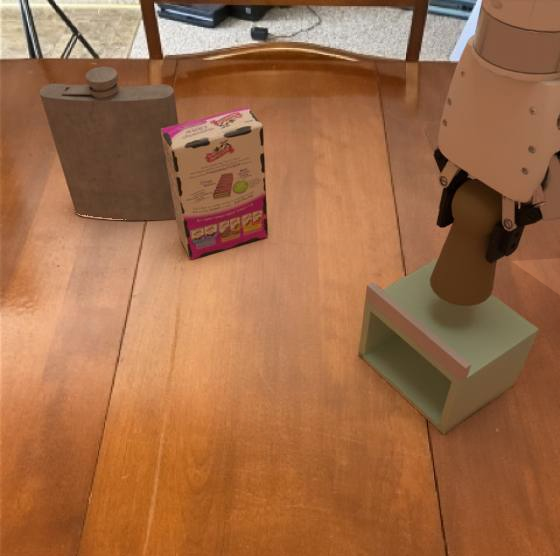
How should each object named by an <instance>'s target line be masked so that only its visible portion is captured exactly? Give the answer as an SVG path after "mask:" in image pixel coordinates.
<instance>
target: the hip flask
mask: <svg viewBox="0 0 560 556" xmlns="http://www.w3.org/2000/svg"><path fill="white" fill-rule="evenodd" d="M85 81H86V84H65V83H50V84H47V85H44V86H43V87H41V88H40V90H39V95H40V99H41V102H42V106H43V109H44V112H45V115H46V120H47V122H48V125H49V129H50V132H51V135H52V139H53V142H54V146H55V149H56V152H57V155H58V159H59V162H60V165H61V169H62V173H63V175H64V179H65V181H66V182H65V183H66V185H67V189H68V192H69V196H70V199H71V202H72V206H73V209H74V212H75V211H76V212H75V214H76V213H78V214H80V215H86V216H87V215H88V216H93V217H102V218H112V219H123V220H125V219H126V220H146V221H145V222H150V221H149V220H153V221H152V222H155V221H154V220H158V221H170V220H176V215H175V210H174V204H173V198H172V193H171V187H170V181H169V175H168V169H167V164H166V158H165V152H164V147H163V142H162V136H161V129H162V128H166V127H170V126H174V125H178V124H179V118H178V112H177V104H176V96H175V89H174V88H173V86H171V85H169V84H165V83H164V84H162V83H160V84H150V85H138V86H137V85H136V86H118V82H119V76H118V71H117V70H116V69H115V68H113V67H110V66H99V67H94V68H91V69H90V70H88V71H87V72H86V73H85ZM168 219H169V220H168ZM147 220H148V221H147Z"/></svg>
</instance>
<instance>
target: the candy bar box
mask: <svg viewBox="0 0 560 556" xmlns="http://www.w3.org/2000/svg"><path fill="white" fill-rule="evenodd" d="M161 136H162V142H163V147H164V152H165V158H166V164H167V169H168V175H169V181H170V187H171V193H172V198H173V204H174V210H175V215H176V219H175V220H176V221H175V222H176V225H177V232H178V237H179V240H180V242H181V244H182V246H183V248H184V249H185V251H186V254H187V255H188V257H189V259H190V260H196V259H199V258H202V257H206V256H209V255H212V254H215V253H219V252H222V251H225V250H228V249H232V248H235V247H238V246H242V245H244V244H248V243H251V242H254V241H257V240H260V239H264V238H268V237H269V228H268V226H269V225H268V202H267V186H266V185H267V184H266V161H265V144H264V143H265V140H264V125H263V124H262V122H261V121H260V120H259V119H258V118H257V117H256V116H255V114H254V113H253V112H252V109H250V107H249V106H244V107H239V108H238V109H237V108H236V109H232V110H228V111H225V112H221V113H218V114H212V115H208V116H205V117H201V118H197V119H194V120H190V121H186V122H182V123H178V125H174V126H170V127H166V128H162V129H161Z"/></svg>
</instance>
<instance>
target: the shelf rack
mask: <svg viewBox="0 0 560 556" xmlns="http://www.w3.org/2000/svg"><path fill="white" fill-rule="evenodd" d="M438 258H439V257H437V258H434V259H433V260H432V261H430V262H428V263H426V264H424V265H423V266H421V267H419V268H418V269H416V270H414V271H412V272H410V273H409V274H407V275H405V276H403V277H402V278H400V279H398V280H397V281H394V282H393V283H391V284H390V285H387V286H386V287H384V288H381V287H380V286H378V285H377V284H376V283H375V282H373V281H371V282H370V283H368V284H367V285H366V290H365V297H364V298H365V299H364V306H363V315H362V322H361V329H360V337H359V345H358V346H359V347H358V353H357V356H359V357H360V358H361V359H362V360H363V361H364V363H366V364H367V365H368V366H369V367H370V368H371V369H372V370H373V371H374V372H376V373H377V374H378V375H379V376H380V377H381V378H382V380H384V381H385V382H386V383H387V384H388V385H389V386H391V387H392V388H393V389H394V390H395V391H396V392H397V393H398V394H399V395H400V396H401V397H403V399H405V401H406V402H408V403H409V404H410V405H411V406H412V407H413V408H414V409H415V410H416V411H418V412H419V414H421V416H422V417H424V418H425V419H426V420H427V421H428V422H429V423H430V424H431V425H432V426H434V427H435V428H436V430H438V431H439V432H440V433H442V435H443V436H445V435H446V434H448V433H449V432H451V431H452V430H453V429H455V428H456V427H458V426H459V425H461V424H462V423H463V422H464V421H466V420H467V419H469V418H470V417H472V416H473V415H475V414H476V413H477V412H479V411H481V410H482V409H483V408H484V407H486V406H487V405H489V404H491V402H493V401H494V400H496V399H497V398H498V397H500V396H502V395H503V394H504V393H506V392H507V391H508V390H510V389H512V388H513V387H515V386H516V384H517V382H518V379H519V377H520V374H521V372H522V370H523V368H524V366H525V363H526V361H527V358H528V356H529V353H530V351H531V349H532V346H533V345H534V342H535V339H536V337H537V335H538V333H539V330H540V328H538V327H537V326H536V325H534V324H533V323H531V322H530V321H529V320H528V319H526V318H525V317H524V316H522V315H521V314H519V312H516V310H514V309H513V308H511V307H510V306H508V305H507V304H506V303H504V302H503V301H502V300H501V299H499V298H498V297H497V296H495V295H494V294H493V293H491V296H490V297H489V298H488V299H487V300H486V301H484V302H482V303H480V304H478V305H472V306H459V305H455V304H451V303H448V302H446V301H445V300H443V299H441V298H440V297H438V296H437V295H436V294H435V293H434V291H433V290H432V288H431V286H430V277H431V275H432V272H433V270H434V267H435V265H436V263H437V260H438Z"/></svg>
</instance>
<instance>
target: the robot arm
mask: <svg viewBox="0 0 560 556" xmlns="http://www.w3.org/2000/svg"><path fill="white" fill-rule="evenodd" d="M424 135H425V137H426V139H427V141H428V143H429V145H430V147H431V149H432V151H433V157H434V161H435V163H436V166H437V168H438V170H439V173H440V174H439V176H438V183H439V185H440V186H441V188H442V191H441V196H440V201H439V206H438V214H437V218H436V224H435V225H436V226H438V227H439V228H440V229H445V228H446V227H448V226H451V225H452V224H453V221H454V217H453V215H452V200H453V197H454V195H455V193H456V191H457V189H458V188H459V187H460V186H461V185H463V184H464V183H465V182H466V181H469V180H471V179H472V177H474V179H476V178H477V179H479V180H480V181H482V182H483V183H485V184H486V185H488V186H490V187H491V188H493V189H494V190H496V191H498V192H499V193H501V194H502V221H501V222H499V223H497V224H496V225H495V226H494V229H493V232H492V235H491V239H490V242H489V245H488V249H487V252H486V255H485V258H486V261H488V262H489V263H490V264H492V263H493V262H495V261H497V262H498V260H500V259H502V258H504V257H507V258H508V257H509V256H511V255H512V254H514V253H515V252H516V251H517V249H518V247H519V244H520V242H521V239H522V236H523V233H524V230H525V228H526V226H530V225H533V224H536V223H538V222H546V221H553V220H558V219H560V0H481V3H480V7H479V12H478V17H477V22H476V27H475V31H474V34H473V35H471V36H470V37H469V38H468V40H467V42H466V44H465V46H464V47H463V50H462V53H461V54H460V57H459V60H458V62H457V65H456V68H455V70H454V73H453V76H452V79H451V82H450V85H449V89H448V91H447V94H446V99H445V102H444V106H443V111H442V115H441V116H439V117H438V118H436V119H435V120H434V121H433V122H430V124H428V125H427V126H426V127H425V128H424ZM470 175H471V176H472V177H470ZM539 187H541V191H542V194H543V197H544V201H543V200H542V201H539V202H537V194H538V189H539Z"/></svg>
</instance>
